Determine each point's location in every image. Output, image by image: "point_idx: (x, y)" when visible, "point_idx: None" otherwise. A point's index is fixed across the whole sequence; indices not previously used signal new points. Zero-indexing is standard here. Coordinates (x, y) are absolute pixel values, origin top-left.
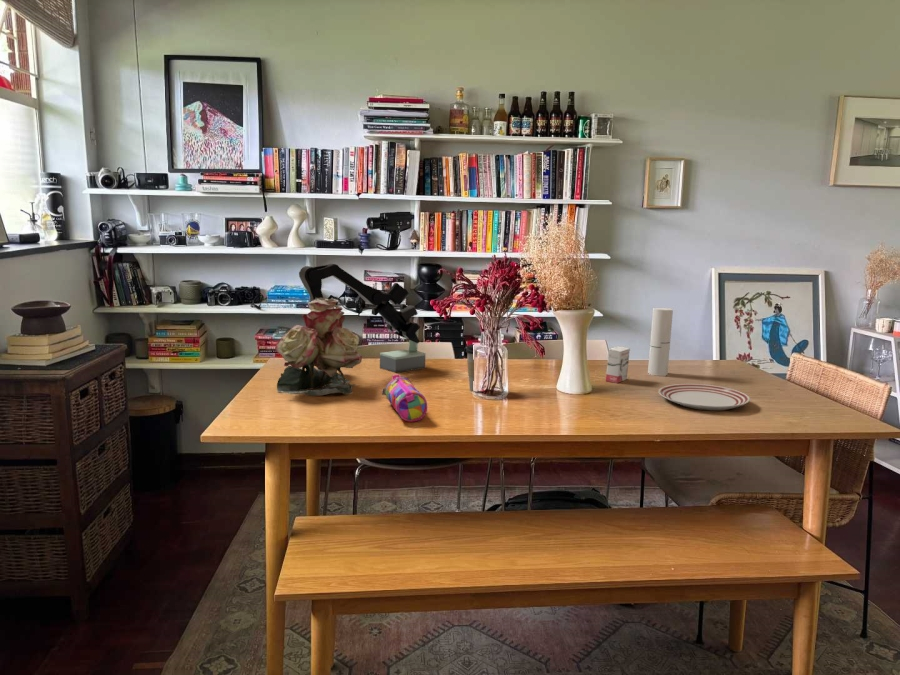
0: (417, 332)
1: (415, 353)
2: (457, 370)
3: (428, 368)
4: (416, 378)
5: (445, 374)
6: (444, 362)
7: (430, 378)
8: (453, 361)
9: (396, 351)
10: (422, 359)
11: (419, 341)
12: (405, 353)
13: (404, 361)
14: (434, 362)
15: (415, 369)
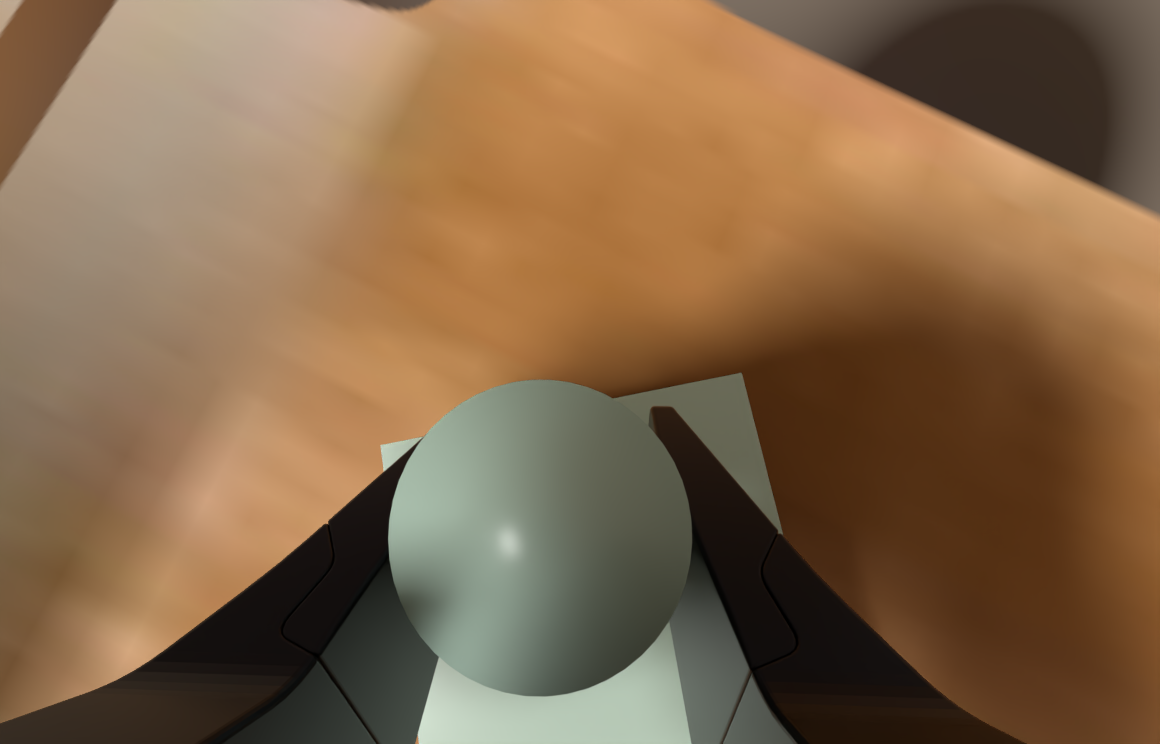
0: (647, 429)
1: None
2: (889, 167)
3: (718, 371)
4: (1101, 697)
5: (1012, 341)
6: (542, 122)
7: (1138, 558)
8: (538, 35)
9: (465, 721)
10: None
11: (675, 411)
12: (659, 660)
13: None
14: (504, 203)
15: None
